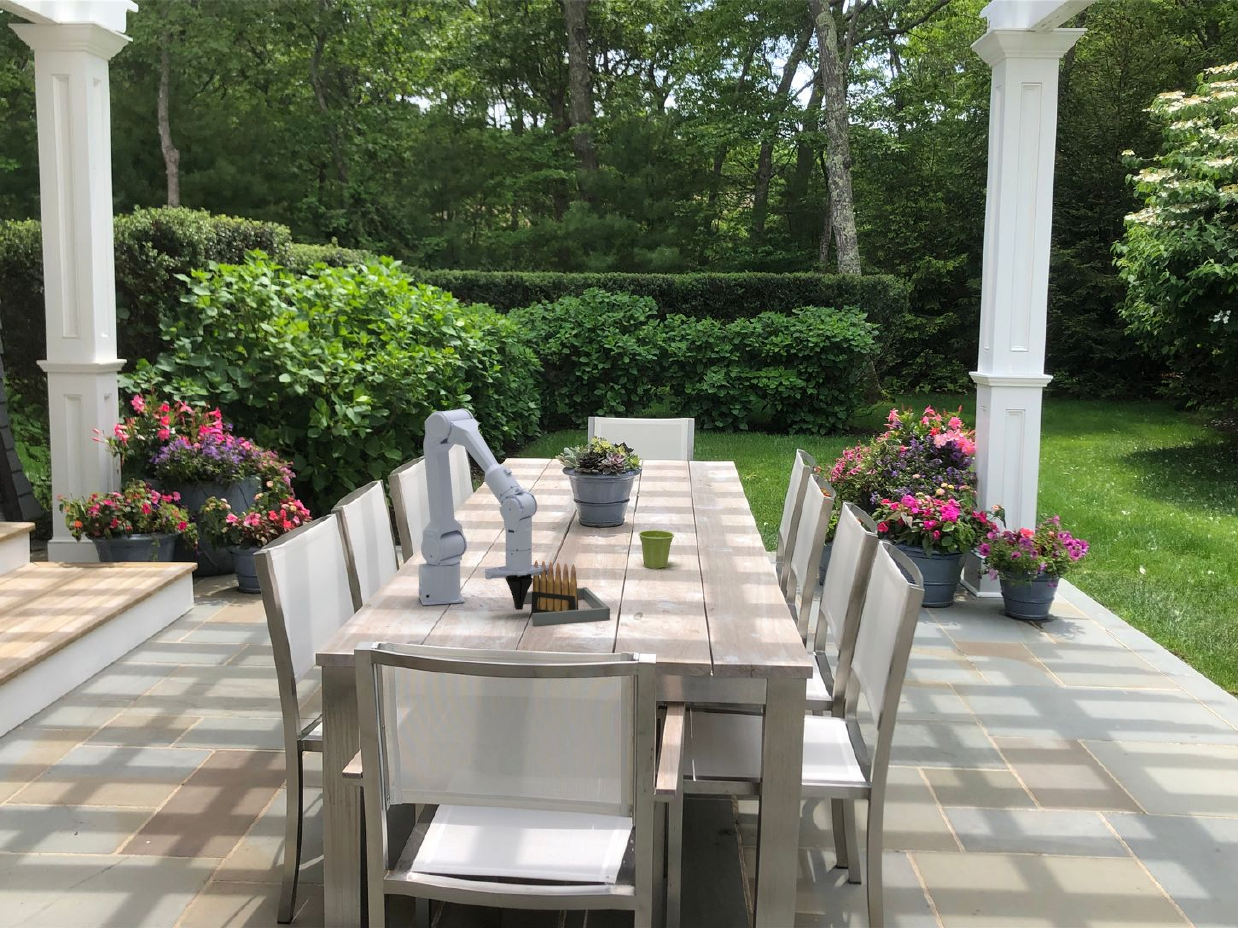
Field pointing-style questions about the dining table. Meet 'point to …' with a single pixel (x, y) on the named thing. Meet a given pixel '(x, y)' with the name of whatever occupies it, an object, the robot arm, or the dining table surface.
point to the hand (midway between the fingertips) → (518, 608)
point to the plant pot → (656, 547)
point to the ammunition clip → (554, 590)
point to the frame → (572, 611)
